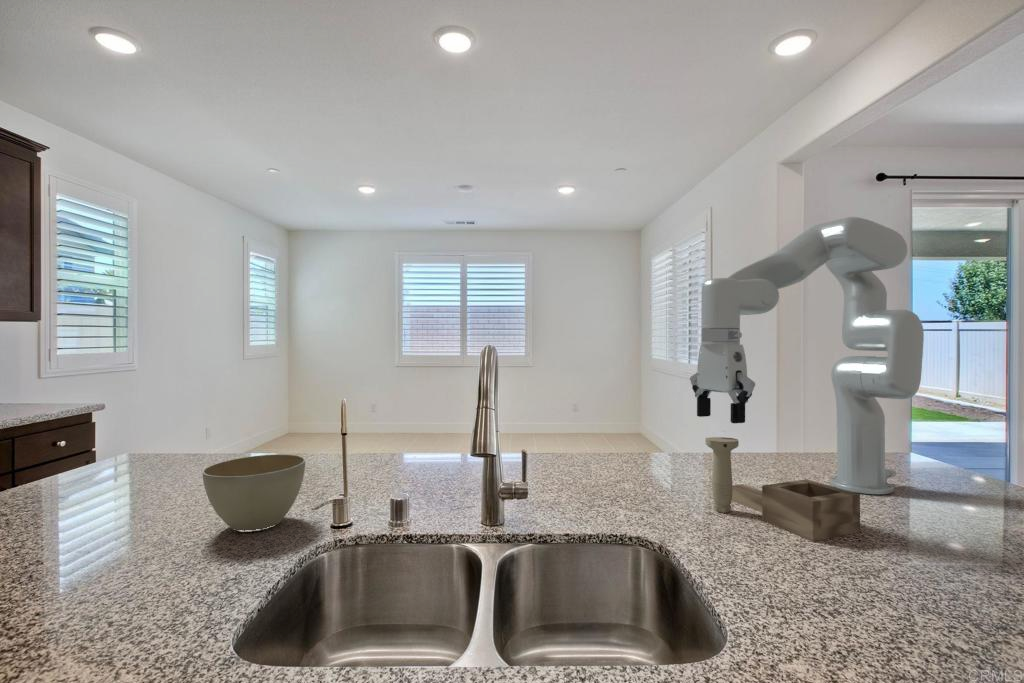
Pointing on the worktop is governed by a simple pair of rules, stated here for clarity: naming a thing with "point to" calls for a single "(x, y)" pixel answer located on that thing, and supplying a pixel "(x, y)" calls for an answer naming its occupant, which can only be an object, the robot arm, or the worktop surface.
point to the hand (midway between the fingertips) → (720, 419)
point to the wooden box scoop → (804, 507)
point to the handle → (722, 471)
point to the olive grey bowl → (254, 489)
